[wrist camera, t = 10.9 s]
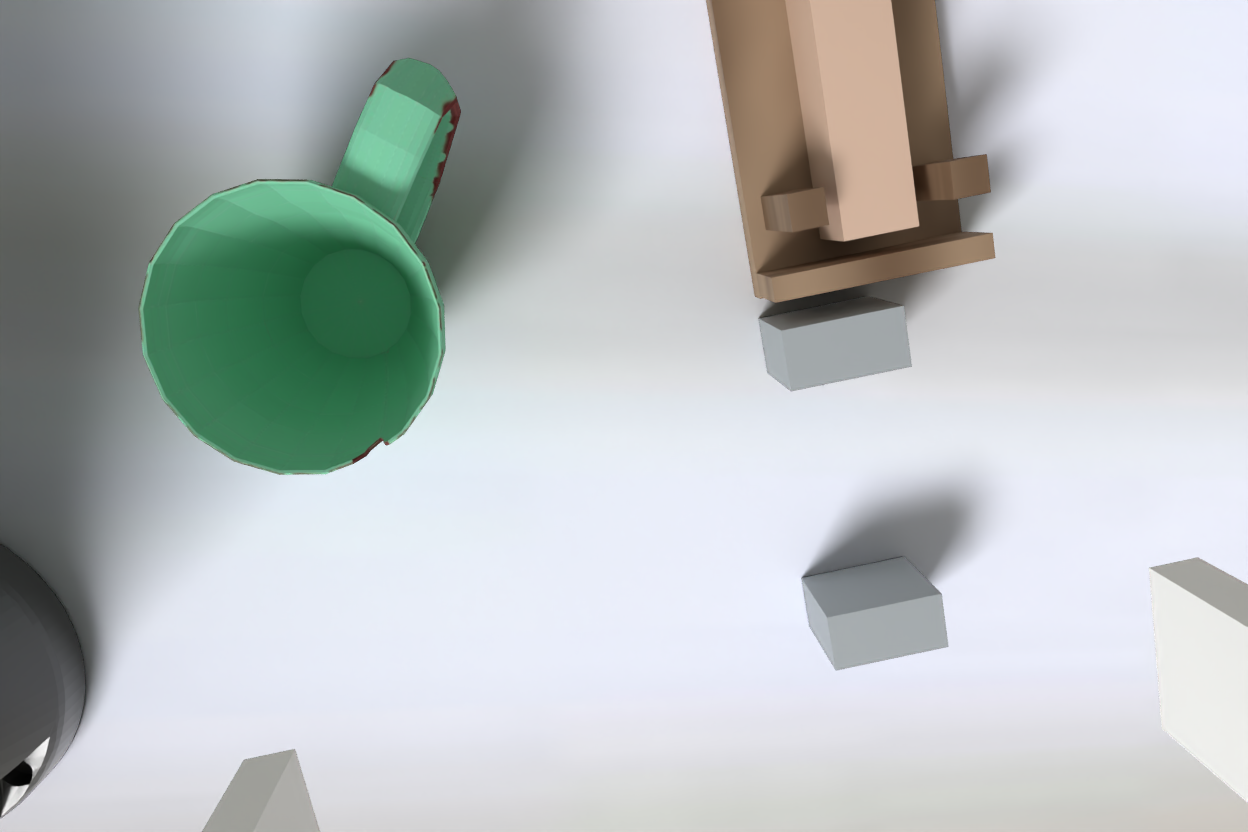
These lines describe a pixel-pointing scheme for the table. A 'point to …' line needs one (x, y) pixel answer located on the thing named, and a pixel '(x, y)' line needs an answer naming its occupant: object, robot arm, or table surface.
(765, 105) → the rack
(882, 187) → the clay strip
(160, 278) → the mug
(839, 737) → the table surface
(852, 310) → the grey blocks
